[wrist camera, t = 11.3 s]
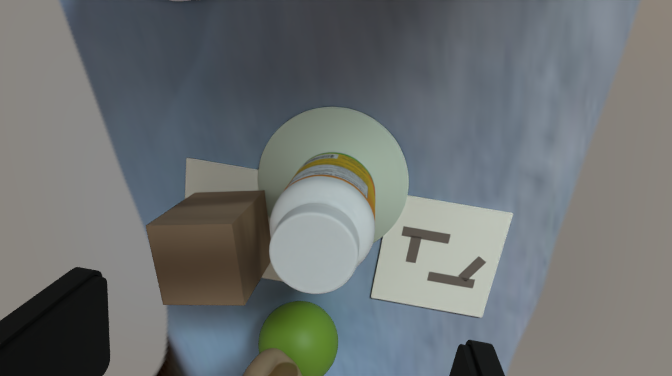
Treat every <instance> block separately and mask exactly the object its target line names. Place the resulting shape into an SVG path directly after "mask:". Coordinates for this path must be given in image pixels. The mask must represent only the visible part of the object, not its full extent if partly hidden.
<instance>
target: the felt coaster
mask: <svg viewBox="0 0 672 376" xmlns="http://www.w3.org/2000/svg"><path fill="white" fill-rule="evenodd" d="M331 151H335V152H343V153H346V154H349V155H351V156H353V157H355V158H357V159H358V160H359V161H360V162H362V163H363V164H364V165H365V166H366V168H367V169H368V170H369V172H370V174H371V176H372V178H373V181H374V185H375V234H374V240H373V243H374V242H376V241H377V240H378V239H380V238H381V237H383V236H384V235H385V234H386V233H387V232H388V231H389V230H390V229H391V228H392V227H393V225H394V224H395V223H396V222H397V220H398V218H399V217H400V215H401V213H402V211H403V209H404V206H405V203H406V200H407V195H408V188H409V176H408V169H407V165H406V161H405V158H404V155H403V153H402V150H401V148H400V146H399V145H398V143H397V141H396V140H395V138H394V137H393V136H392V135H391V133H390V132H389V131H388V130H387V129H386V128H385V127H384V126H383V125H382V124H380V123H379V122H377V121H376V120H375V119H373V118H371V117H370V116H368V115H366V114H364V113H361V112H359V111H356V110H353V109H348V108H343V107H321V108H315V109H312V110H308V111H305V112H303V113H301V114H299V115H296V116H295V117H293V118H292V119H290V120H288V121H287V122H286V123H284V124H283V125H282V126H281V127H280V128H279V129H278V130H277V131H276V132H275V133H274V134H273V135H272V137H271V138H270V140H269V141H268V143H267V145H266V147H265V149H264V151H263V153H262V156H261V160H260V164H259V170H258V186H259V190H265V198H266V206H267V213H268V216H269V217H271V213H272V210H273V208H274V206H275V203H276V202H277V200H278V198H279V197H280V195H281V194H282V192H283V191H284V190H285V188H286V187H287V185H288V184H289V183H290V181H291V180H292V178H293V177H294V176H295V174H296V173H297V171H298V170H299V168H300V167H301V166H302V165H303V164H304V163H305V162H306V161H307V160H308V159H310V158H311V157H313V156H315V155H317V154H320V153H324V152H331Z"/></svg>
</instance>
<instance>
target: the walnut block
mask: <svg viewBox="0 0 672 376" xmlns="http://www.w3.org/2000/svg"><path fill="white" fill-rule="evenodd" d="M146 229H147V234H148V238H149V243H150V247H151V252H152V256H153V261H154V265H155V270H156V274H157V279H158V283H159V288H160V292H161V297H162V301H163V305H245V304H246V302H247V301H248V299H249V297H250V296H251V294H252V292H253V291H254V289H255V287H256V286H257V284H258V282H259V281H260V279H261V277H262V276H263V274H264V272H265V271H266V269H267V267H268V266H269V264H270V262H271V261H270V255H269V245H270V240H271V236H270V229H269V221H268V213H267V206H266V198H265V190H258V191H228V192H198V193H193V194H192V195H190V196H189V197H187V198H186V199H185V200H183V201H182V202H180V203H179V204H177V205H176V206H174V207H173V208H171V209H170V210H168V211H167V212H165V213H164V214H162V215H161V216H159V217H158V218H156V219H155V220H153V221H152V222H150V223H149V224H148V225H146Z"/></svg>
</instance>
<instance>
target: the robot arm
mask: <svg viewBox="0 0 672 376" xmlns="http://www.w3.org/2000/svg"><path fill="white" fill-rule="evenodd" d="M109 362H110V343H109V318H108V293H107V280H106V279H105V278H103V277H102V274H101V272H99V271H96V270H91V269H85V268H80V267H76V268H74V269H72V270H70V271H69V272H68V273H66V274H65V275H63V276H62V277H61V278H59V279H58V280H56V281H55V282H54V283H52V284H51V285H49V286H48V287H47V288H45V289H44V290H42V291H41V292H40V293H38V294H37V295H36V296H34V297H33V298H31V299H30V300H29V301H27V302H26V303H24V304H23V305H22V306H20V307H19V308H17V309H16V310H14V311H13V312H12V313H10V314H9V315H8V316H6V317H5V318H3V319H2V320H1V321H0V376H102V375H104V373H105V372H106V370H107V368H108V365H109ZM449 376H505V375H504V372H503V370H502V367H501V365H500V362H499V360H498V357H497V354H496V352H495V349H494V347H493V345H492V344H489V343H484V342H478V341H473V340H468V341H467V342H466V345H462V344H460V345H459V346H458V349H457V352H456V355H455V359H454V362H453V365H452V369H451V372H450V375H449Z"/></svg>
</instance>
